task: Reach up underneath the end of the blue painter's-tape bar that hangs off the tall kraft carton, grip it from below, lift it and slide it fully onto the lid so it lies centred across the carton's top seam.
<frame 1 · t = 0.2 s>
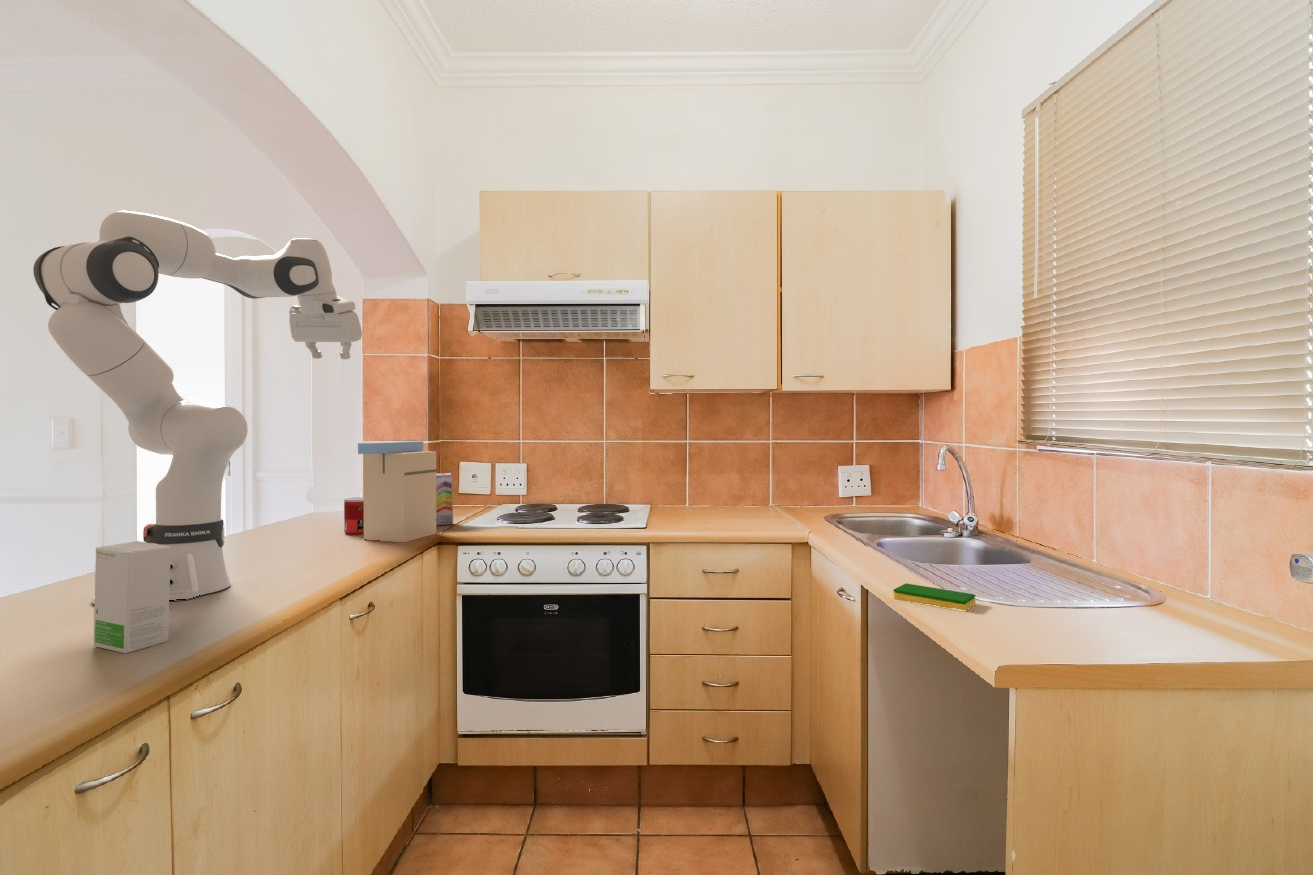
hand: (331, 358, 170), 52 cm above the worktop, tool tilted 20°, fingers open, 8 cm apart
skincare box: (133, 645, 103), on the worktop
tape bar: (392, 452, 197), point 26 cm above the worktop, touching kraft carton
kraft carton: (401, 536, 201), on the worktop
canned food: (357, 533, 207), on the worktop
cake pan box: (423, 526, 223), on the worktop
dish sponge: (933, 604, 131), on the worktop
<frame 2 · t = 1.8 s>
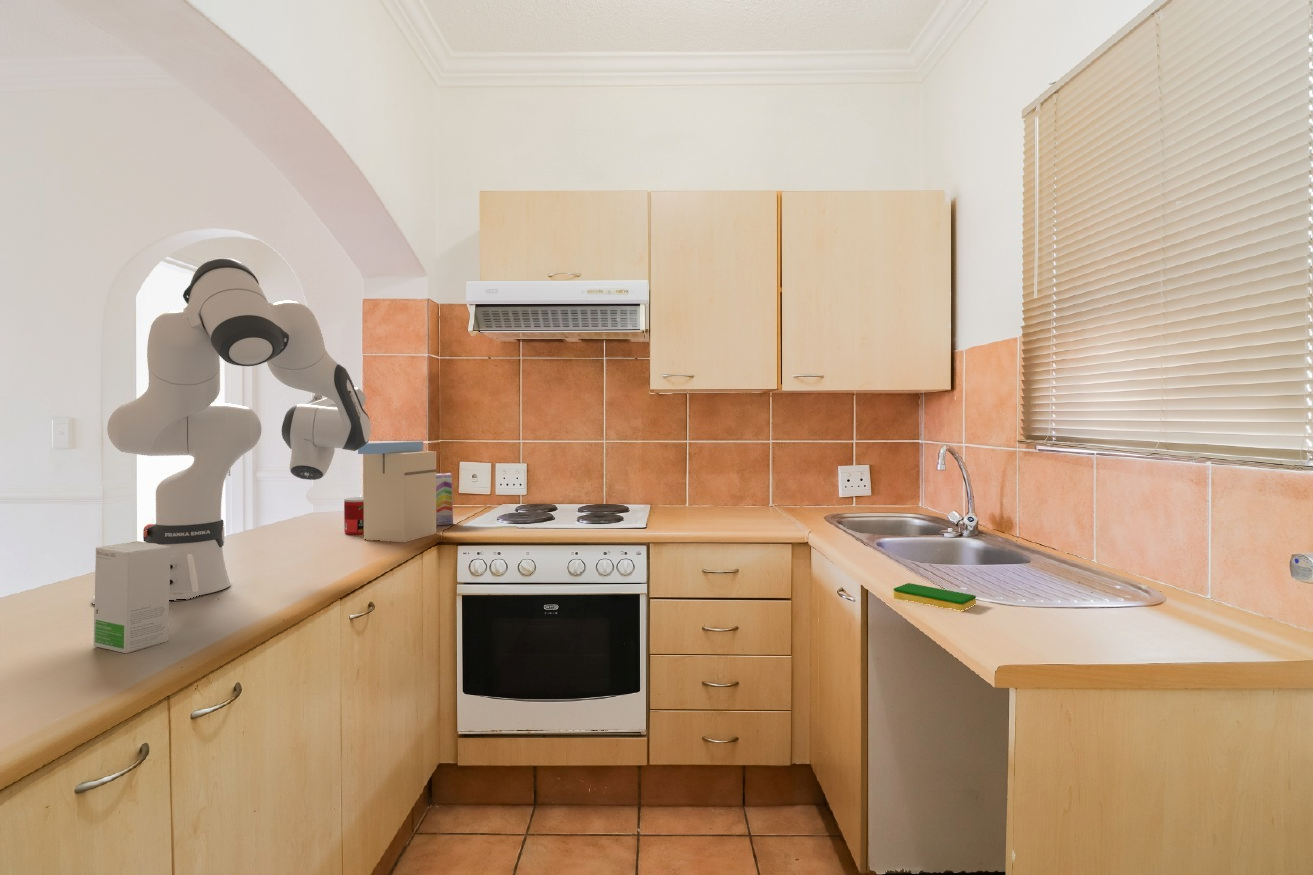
hand: (333, 390, 175), 44 cm above the worktop, tool pointing upward, fingers open, 8 cm apart
nothing on the worktop moved.
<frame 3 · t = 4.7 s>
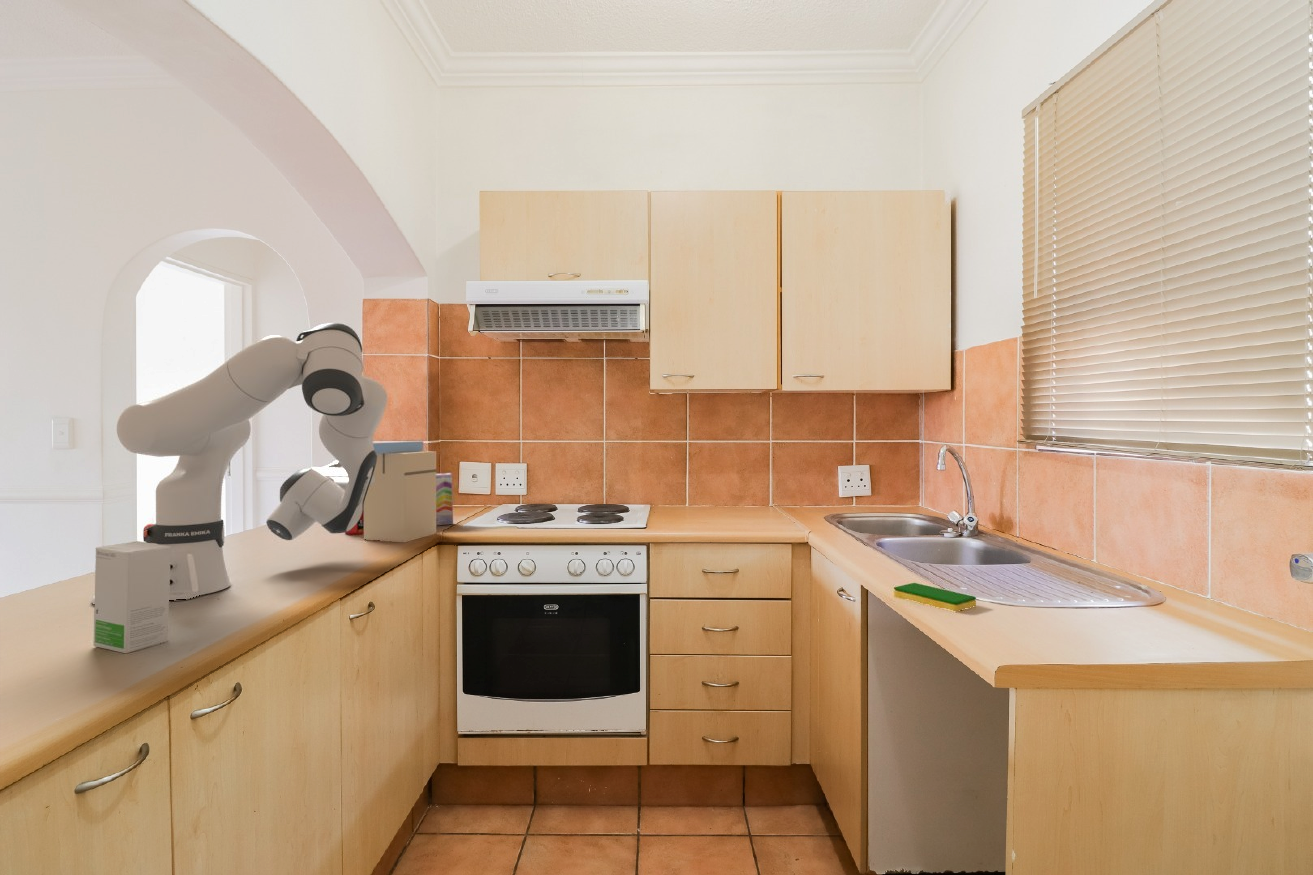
hand: (353, 463, 181), 24 cm above the worktop, tool pointing upward, fingers open, 8 cm apart
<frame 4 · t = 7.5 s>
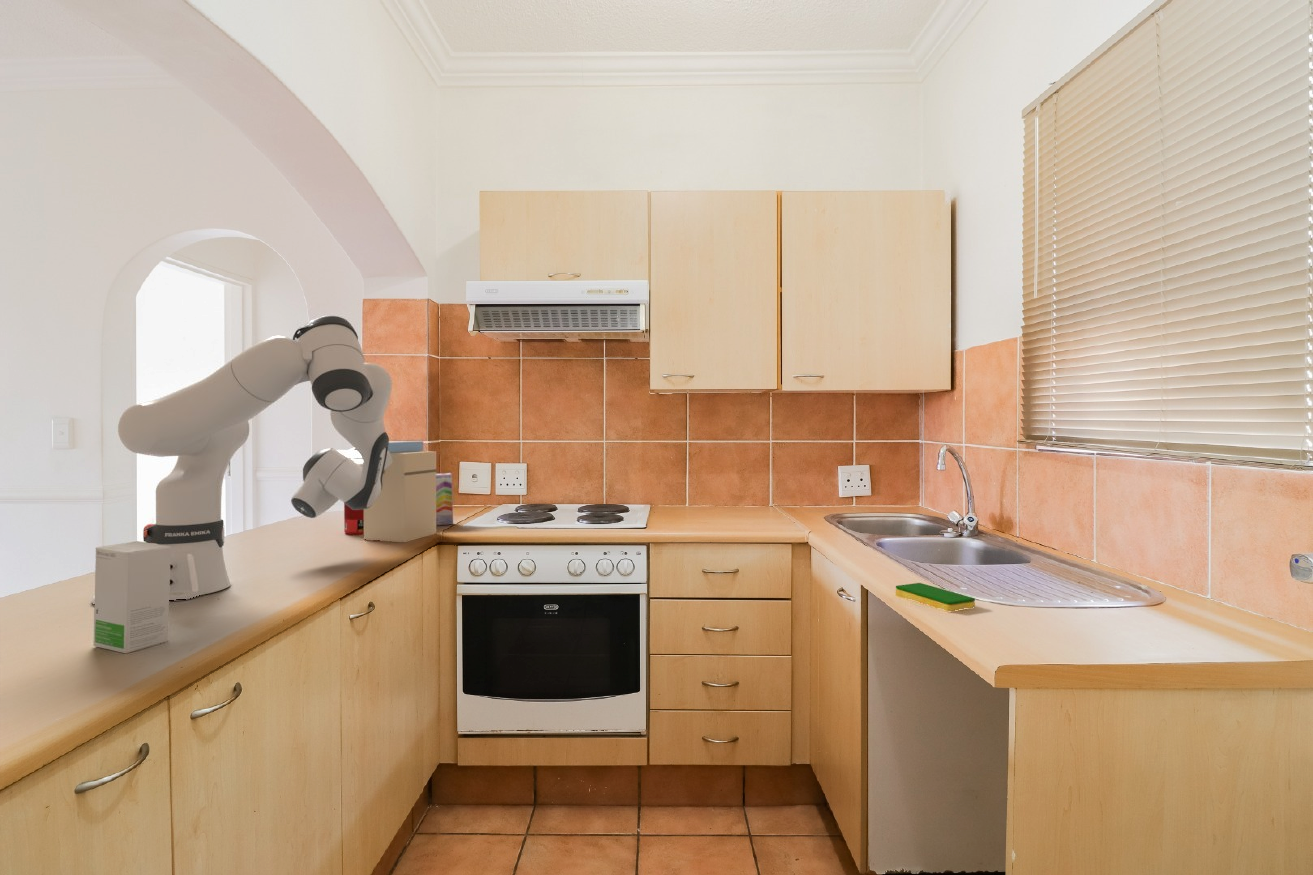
hand: (371, 446, 188), 28 cm above the worktop, tool pointing upward, fingers closed on tape bar, 4 cm apart
tape bar: (392, 452, 197), point 26 cm above the worktop, touching gripper, kraft carton
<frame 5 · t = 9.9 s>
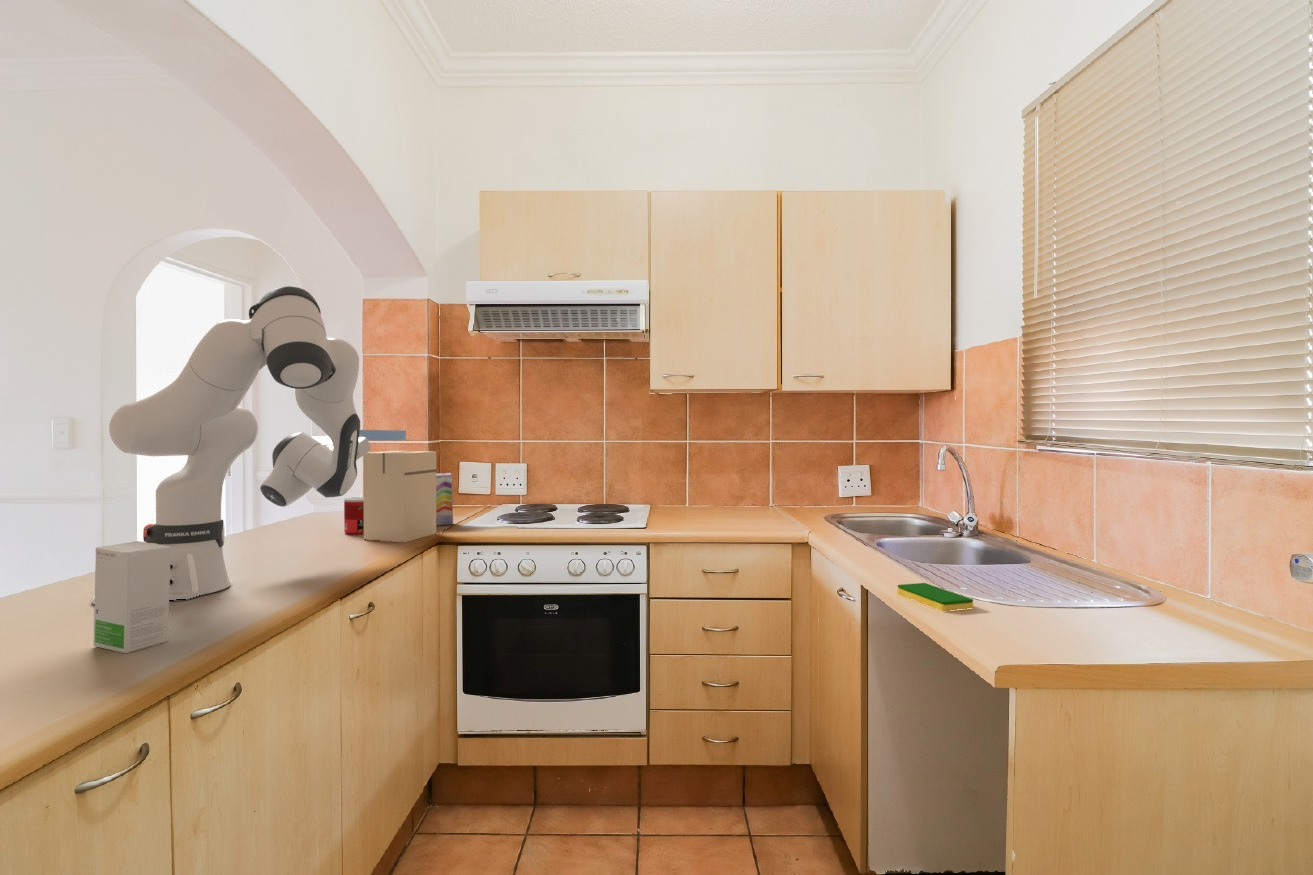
hand: (349, 433, 179), 32 cm above the worktop, tool pointing upward, fingers closed on tape bar, 4 cm apart
tape bar: (372, 440, 188), point 30 cm above the worktop, touching gripper
when the fingers open (30 cm above the worktop, at t = 12.6 s): tape bar stays where it is, resting on kraft carton.
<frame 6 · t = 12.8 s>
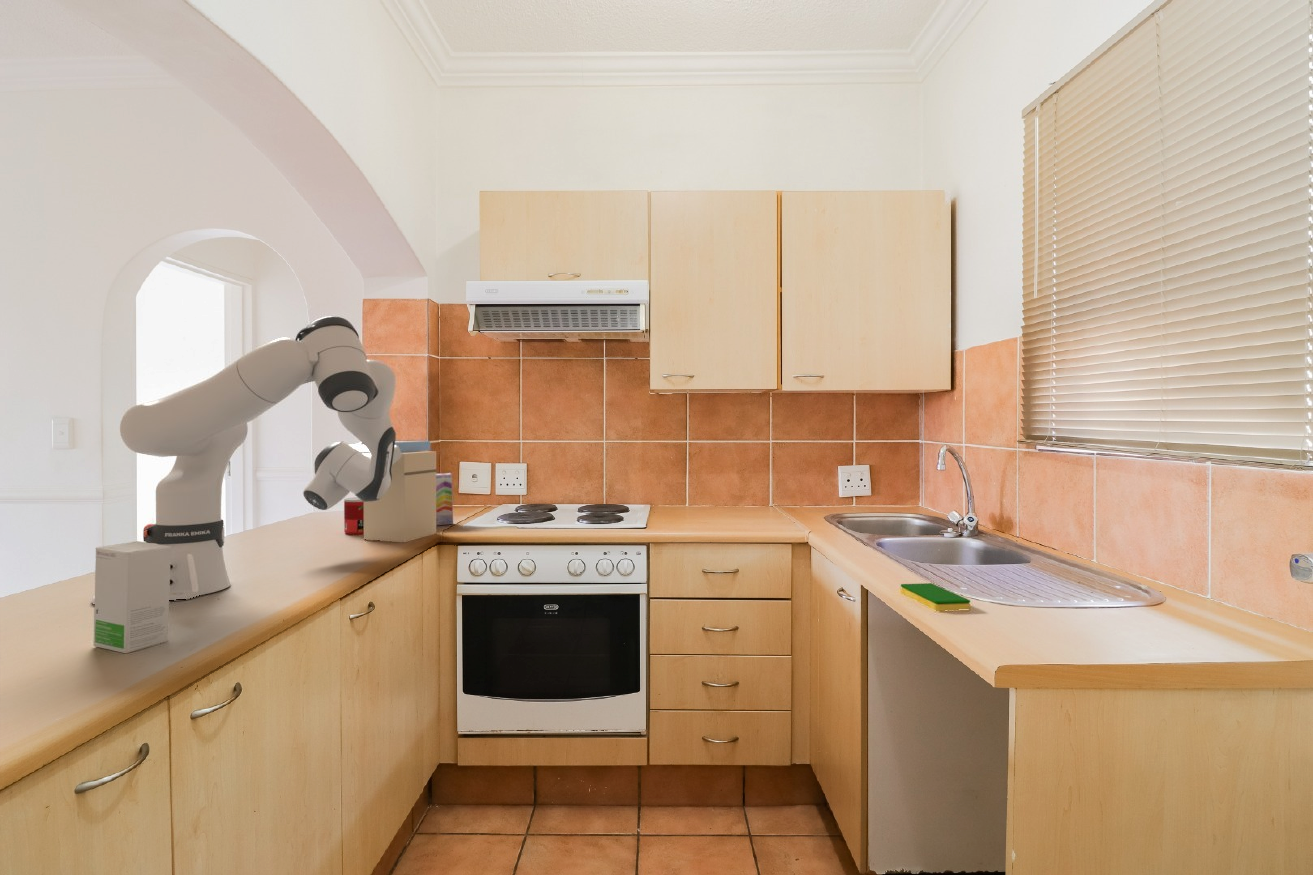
hand: (380, 441, 192), 30 cm above the worktop, tool pointing upward, fingers open, 6 cm apart
tape bar: (400, 451, 201), point 26 cm above the worktop, touching kraft carton
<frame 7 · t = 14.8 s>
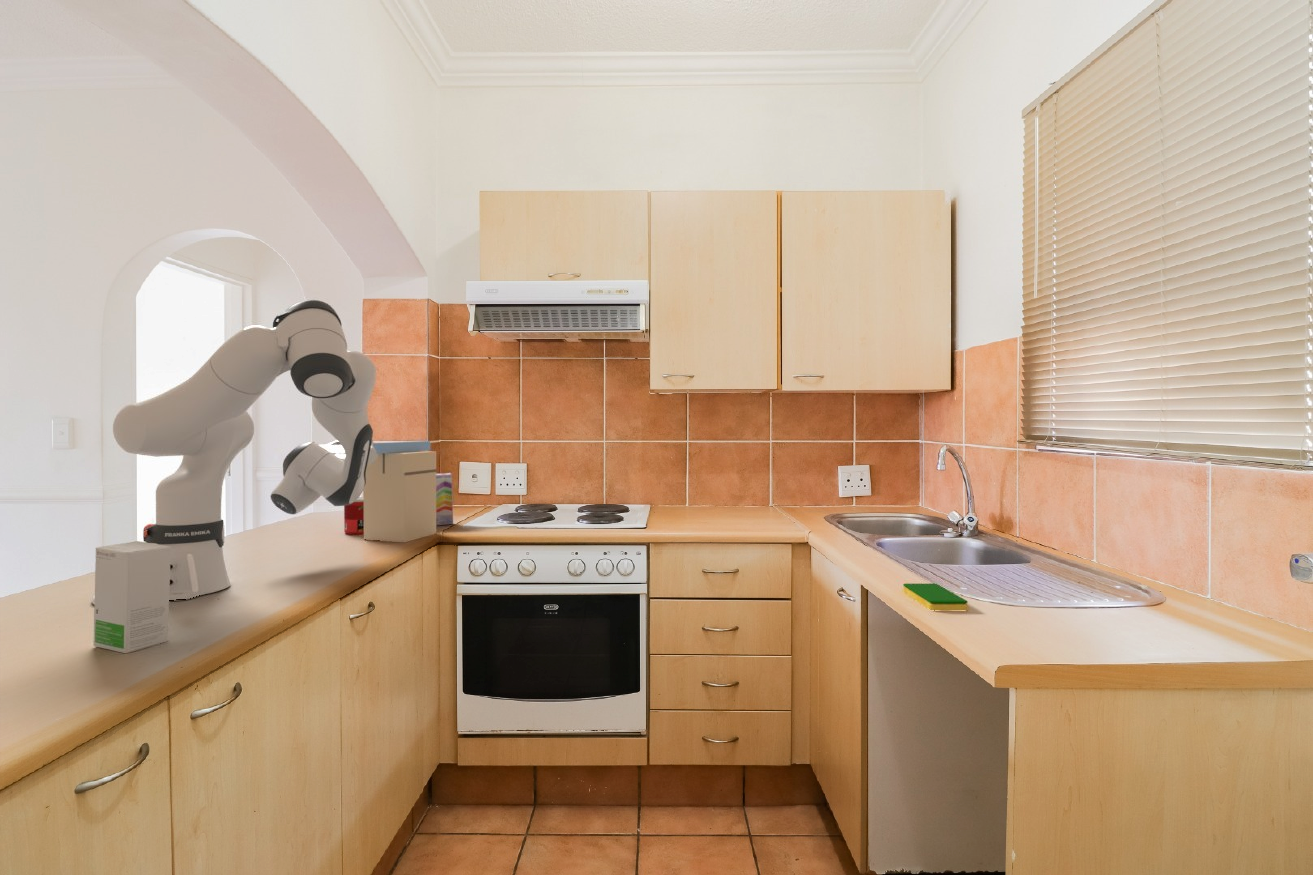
hand: (356, 441, 182), 30 cm above the worktop, tool pointing upward, fingers open, 8 cm apart
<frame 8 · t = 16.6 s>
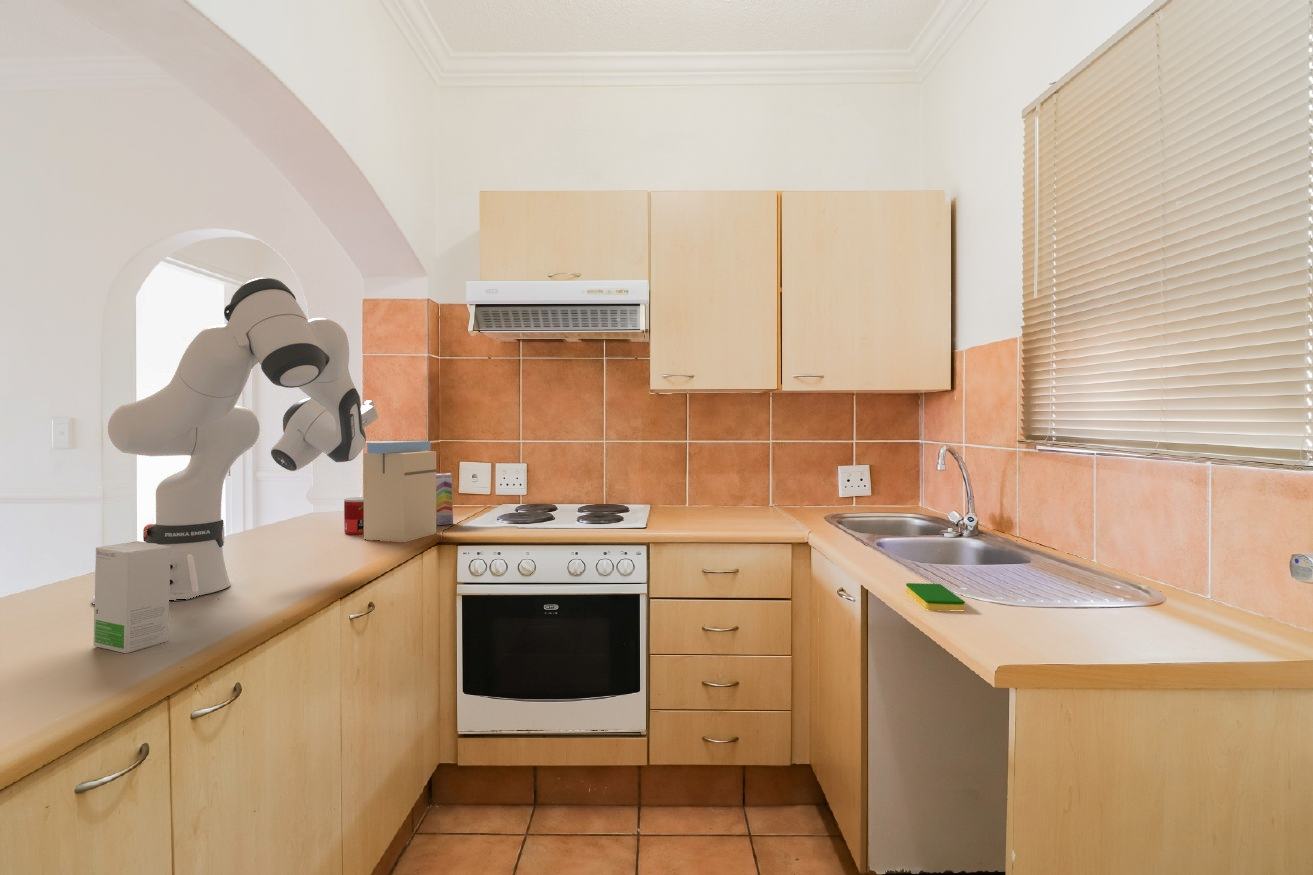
hand: (356, 402, 182), 40 cm above the worktop, tool pointing upward, fingers open, 8 cm apart
at the end: tape bar 1.6 cm from the target spot on the kraft carton, point 26.1 cm above the kraft carton's base; tape bar touching kraft carton; the gripper is holding nothing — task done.
